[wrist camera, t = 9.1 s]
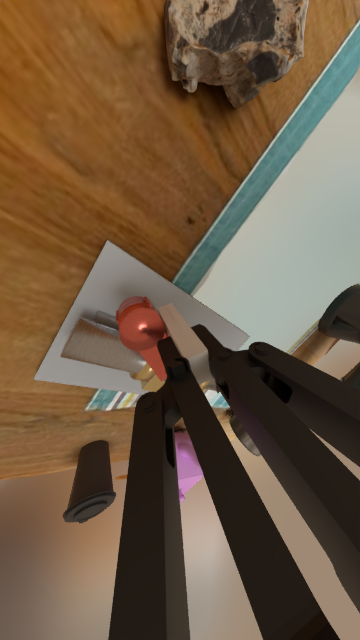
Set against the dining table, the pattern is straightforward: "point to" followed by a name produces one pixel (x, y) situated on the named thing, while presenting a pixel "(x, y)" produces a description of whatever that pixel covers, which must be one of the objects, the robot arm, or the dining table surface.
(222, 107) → the dining table surface
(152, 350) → the lever
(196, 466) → the pink toy block
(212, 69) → the rock
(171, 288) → the mount board
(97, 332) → the valve body
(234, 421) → the alarm clock
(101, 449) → the coffee cup
